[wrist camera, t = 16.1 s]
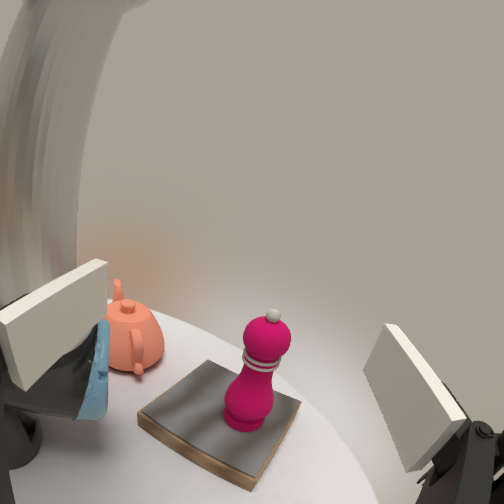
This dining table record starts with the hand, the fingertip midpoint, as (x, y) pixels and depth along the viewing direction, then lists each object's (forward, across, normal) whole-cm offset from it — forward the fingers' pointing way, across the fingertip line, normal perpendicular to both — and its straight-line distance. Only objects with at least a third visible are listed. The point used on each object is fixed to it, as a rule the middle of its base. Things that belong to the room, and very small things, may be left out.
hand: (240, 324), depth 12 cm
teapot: (+33, -22, -32) cm, 51 cm away
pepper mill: (+20, +4, -28) cm, 34 cm away
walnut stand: (+21, +1, -32) cm, 38 cm away
